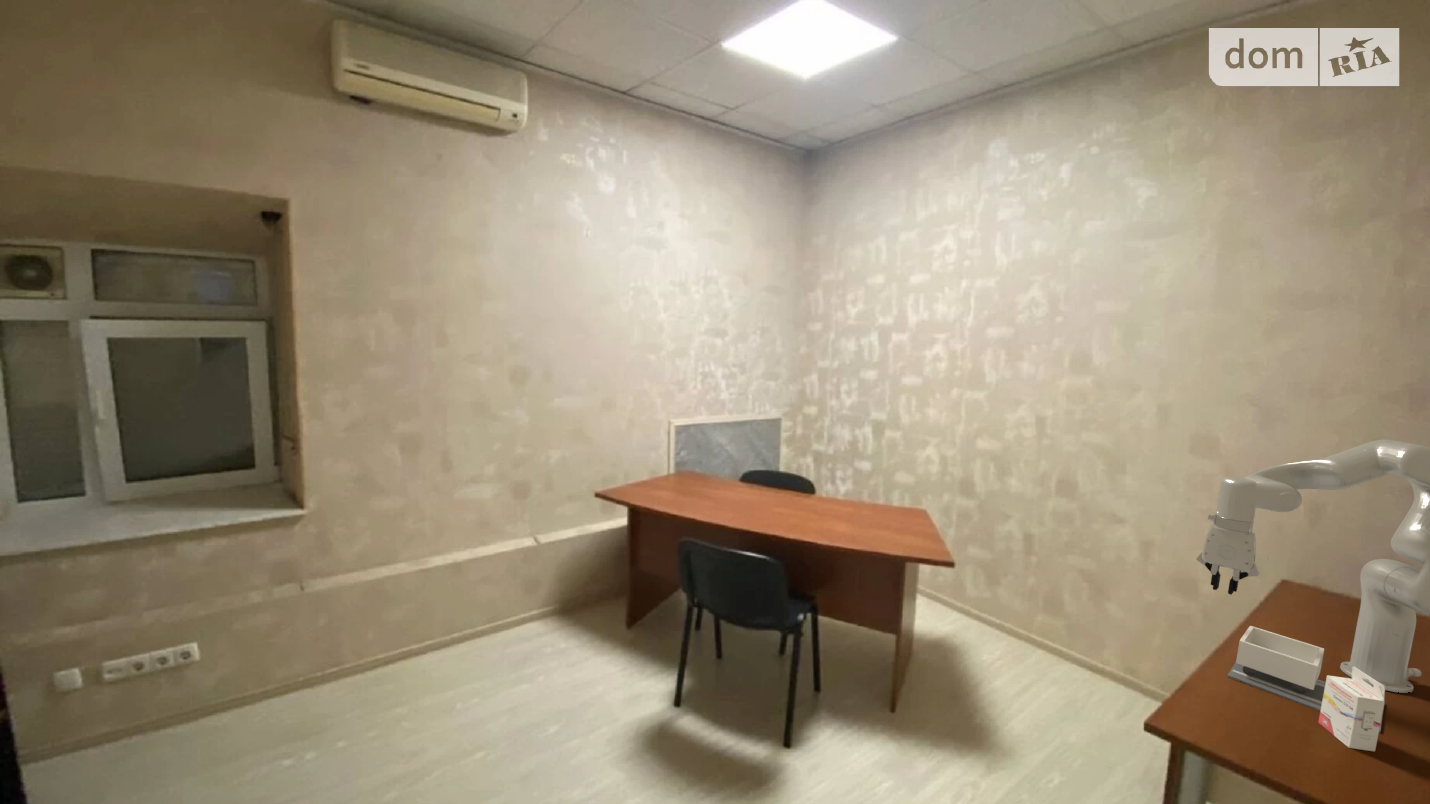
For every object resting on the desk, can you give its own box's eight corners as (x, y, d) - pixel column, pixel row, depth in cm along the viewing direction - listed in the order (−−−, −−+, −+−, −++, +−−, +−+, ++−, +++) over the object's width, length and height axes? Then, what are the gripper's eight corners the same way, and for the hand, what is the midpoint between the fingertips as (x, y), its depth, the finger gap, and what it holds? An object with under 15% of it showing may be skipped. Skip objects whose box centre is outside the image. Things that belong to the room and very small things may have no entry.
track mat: (1241, 655, 160) (1241, 652, 160) (1384, 704, 140) (1384, 701, 140) (1226, 676, 149) (1227, 673, 149) (1380, 733, 129) (1380, 730, 129)
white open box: (1245, 654, 158) (1250, 625, 157) (1318, 680, 147) (1324, 648, 146) (1234, 671, 149) (1239, 640, 148) (1311, 699, 138) (1317, 666, 138)
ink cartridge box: (1316, 722, 132) (1327, 661, 130) (1342, 726, 131) (1353, 665, 129) (1348, 748, 123) (1360, 683, 122) (1376, 753, 122) (1389, 687, 121)
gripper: (1191, 518, 158) (1181, 583, 160) (1272, 536, 145) (1261, 606, 147) (1198, 514, 162) (1188, 577, 164) (1277, 530, 150) (1266, 598, 152)
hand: (1223, 590), depth 156 cm, fingers open, 2 cm apart
